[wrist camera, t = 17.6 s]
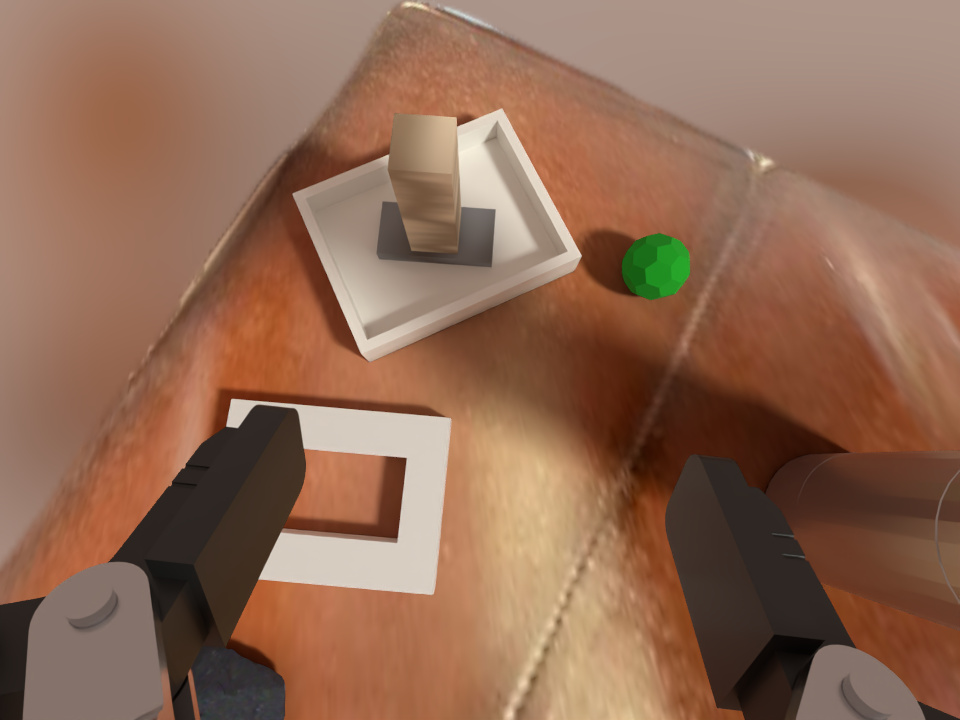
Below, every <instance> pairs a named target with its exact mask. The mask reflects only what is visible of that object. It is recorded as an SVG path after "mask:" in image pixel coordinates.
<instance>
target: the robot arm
mask: <svg viewBox="0 0 960 720" xmlns="http://www.w3.org/2000/svg"><path fill="white" fill-rule="evenodd" d="M305 472H306V460H305V453H304V446H303V440H302V433H301V426H300V419H299V414H298V411H297V410H296V409H295V408H287V407H279V406H270V405H261V404H258V405H255V406H254V407H253V408H252V409H251V410H250V412H249V413H248V415H247V416H246V417H245V419H244V420H243V422H242V423H241V424H240V426H239V427H238V428H234V427H225V428H223V429H222V430H220V431H219V432H218V433H216V434H215V435H213V436H212V437H210V438H209V439H207V440H206V441H205V442H203V443H202V444H201V445H200V446H199V448H198V449H197V450H196V452H195V453H194V454H193V455H192V457H191V458H190V459H189V461H188V462H187V463H186V467H185V469H183V468H182V470H181V471H180V472H179V473H178V475H177V476H176V477H175V479H174V480H173V481H172V485H171V486H168V488H167V489H166V490H165V491H164V493H163V494H162V495H161V497H160V498H159V499H158V500H157V502H156V503H155V504H154V506H153V507H152V508H151V509H150V511H149V512H148V513H147V515H146V516H145V517H144V518H143V520H142V521H141V522H140V524H139V525H138V526H137V527H136V529H135V530H134V531H133V533H132V534H131V535H130V536H129V538H128V539H127V540H126V542H125V543H124V544H123V545H122V547H121V548H120V549H119V551H118V552H117V553H116V554H115V555H114V557H113V558H112V559H111V560H110V561H109V562H108V563H104V564H99V565H96V566H93V567H90V568H88V569H85V570H83V571H81V572H79V573H77V574H75V575H73V576H71V577H70V578H68V579H67V580H65V581H64V582H62V583H61V584H60V585H59V586H57V587H56V588H55V589H54V590H53V591H52V592H51V593H50V594H49V595H47V596H46V597H42V598H37V599H31V600H26V601H20V602H15V603H9V604H3V605H0V720H200V715H199V709H198V704H197V698H196V692H195V686H194V681H193V675H192V671H191V667H192V665H193V663H194V661H195V659H196V657H197V655H198V653H199V651H200V649H201V647H202V645H205V646H214V647H222V648H225V647H226V645H227V643H228V641H229V639H230V637H231V635H232V633H233V631H234V629H235V627H236V625H237V623H238V620H239V618H240V616H241V614H242V612H243V610H244V608H245V606H246V604H247V602H248V600H249V598H250V595H251V593H252V591H253V589H254V587H255V585H256V583H257V581H258V579H259V577H260V575H261V573H262V571H263V568H264V566H265V564H266V562H267V560H268V558H269V556H270V554H271V552H272V550H273V548H274V546H275V544H276V541H277V539H278V537H279V535H280V533H281V531H282V529H283V527H284V525H285V523H286V521H287V519H288V517H289V514H290V512H291V510H292V508H293V506H294V504H295V502H296V500H297V498H298V496H299V494H300V491H301V489H302V486H303V483H304V478H305ZM665 526H666V533H667V537H668V541H669V544H670V548H671V551H672V554H673V558H674V561H675V565H676V568H677V572H678V575H679V579H680V582H681V586H682V589H683V592H684V596H685V599H686V603H687V606H688V610H689V613H690V617H691V620H692V623H693V627H694V630H695V634H696V637H697V641H698V644H699V648H700V651H701V655H702V658H703V661H704V665H705V668H706V672H707V675H708V679H709V682H710V686H711V689H712V693H713V696H714V699H715V703H716V706H717V708H722V709H731V710H739V711H742V712H743V715H744V718H745V720H960V719H958V718H956V717H954V716H951V715H949V714H947V713H944V712H942V711H939V710H937V709H935V708H932V707H930V706H928V705H925V704H923V703H921V702H919V701H917V700H916V699H915V697H914V696H913V694H912V693H911V692H910V690H909V689H908V688H907V687H906V685H905V684H904V683H903V682H902V681H901V680H900V679H899V678H898V677H897V676H896V675H895V674H894V673H893V672H892V671H891V670H890V669H888V668H887V667H886V666H885V665H884V664H882V663H881V662H879V661H878V660H876V659H875V658H873V657H872V656H870V655H868V654H866V653H865V652H862V651H860V650H858V649H857V648H856V647H855V645H854V644H853V642H852V640H851V638H850V637H849V635H848V633H847V631H846V629H845V627H844V626H843V624H842V622H841V620H840V618H839V616H838V614H837V613H836V611H835V609H834V607H833V605H832V603H831V602H830V600H829V598H828V596H827V594H826V592H825V591H824V589H823V587H822V585H821V583H823V584H826V585H829V586H832V587H835V588H838V589H841V590H844V591H847V592H849V593H852V594H855V595H857V596H860V597H863V598H866V599H869V600H872V601H875V602H878V603H880V604H883V605H886V606H889V607H892V608H895V609H898V610H901V611H904V612H906V613H909V614H912V615H915V616H918V617H921V618H924V619H927V620H930V621H932V622H935V623H938V624H941V625H944V626H947V627H950V628H953V629H956V630H958V631H960V450H952V451H912V452H872V453H833V454H809V455H805V456H800V457H797V458H795V459H793V460H791V461H789V462H787V463H786V464H785V465H784V466H783V467H781V468H780V469H779V470H778V471H777V473H776V474H775V475H774V477H773V478H772V479H771V481H770V483H769V486H768V488H767V490H766V494H764V493H763V492H762V491H761V490H760V489H759V488H756V487H749V486H748V484H747V482H746V480H745V478H744V476H743V474H742V472H741V470H740V468H739V466H738V465H737V463H736V462H735V461H734V460H733V459H731V458H723V457H714V456H705V455H696V454H693V455H691V456H690V457H689V458H688V459H687V461H686V463H685V466H684V468H683V470H682V472H681V475H680V477H679V479H678V482H677V484H676V486H675V488H674V491H673V493H672V495H671V498H670V500H669V502H668V505H667V509H666V516H665ZM820 582H821V583H820Z"/></svg>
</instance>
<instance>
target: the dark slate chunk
mask: <svg viewBox="0 0 960 720" xmlns="http://www.w3.org/2000/svg"><path fill="white" fill-rule="evenodd" d="M191 671H192V675H193V681H194V686H195V692H196V698H197V704H198V709H199V715H200V720H284V716H285V683H284V680H283V678H282V677H281V676H280V675H279V674H277V673H276V672H274V671H273V670H272V669H270V668H268V667H266V666H264V665H261V664H257V663H255V662H253V661H251V660H249V659H247V658H244V657H242V656H240V655H239V654H237V653H236V652H235V651H234V650H233V649H229V650H228V649H227V648H222V647H214V646H205V645H202V647H201V649H200V651H199V653H198V655H197V657H196V659H195V661H194V663H193V665H192V667H191Z"/></svg>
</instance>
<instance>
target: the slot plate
mask: <svg viewBox="0 0 960 720" xmlns="http://www.w3.org/2000/svg"><path fill="white" fill-rule="evenodd" d="M258 404H261V405H270V406H279V407H287V408H295V409H296V410H297V411H298V414H299V419H300V426H301V433H302V440H303V446H304V449H312V450H323V451H335V452H346V453H357V454H369V455H380V456H391V457H403V458H407V462H406V471H405V480H404V489H403V498H402V506H401V515H400V524H399V533H398V538H387V537H375V536H364V535H353V534H342V533H330V532H319V531H308V530H297V529H285V528H283V529H282V531H281V533H280V535H279V537H278V539H277V541H276V544H275V546H274V548H273V550H272V552H271V554H270V556H269V558H268V560H267V562H266V564H265V566H264V568H263V571H262V573H261V575H260V577H259V579H262V580H273V581H284V582H295V583H306V584H317V585H329V586H340V587H351V588H362V589H373V590H384V591H396V592H407V593H418V594H429V595H433V593H434V590H435V585H436V575H437V565H438V554H439V544H440V534H441V524H442V513H443V503H444V493H445V482H446V472H447V462H448V452H449V441H450V431H451V421H452V420H451V418H446V417H434V416H423V415H412V414H400V413H389V412H377V411H366V410H354V409H343V408H331V407H320V406H308V405H297V404H286V403H274V402H263V401H251V400H240V399H231V404H230V409H229V414H228V420H227V425H226V427H234V428H238V427H239V426H240V424H241V423H242V422H243V420H244V419H245V417H246V416H247V415H248V413H249V412H250V410H251V409H252V408H253V407H254V406H255V405H258Z"/></svg>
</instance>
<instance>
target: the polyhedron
mask: <svg viewBox="0 0 960 720" xmlns="http://www.w3.org/2000/svg"><path fill="white" fill-rule="evenodd" d="M622 275H623V279H624V282H625V284H626V285H627V286H628V288H629V289H630V291H631V292H633V293H635V294H637V295H639V296H642V297H644V298H647V299H649V300H653V299H658V298H662V297H666V296H670V295H673V294H676V292H677V291H678V290H679V289H680V287H681V286H682V285H683V284H684V282H685V281H686V279H687V278H688V276H689V275H690V258H689V252H688V250H687V249H686V247H685V246H684V245H683V243H682V242H681V241H679V240H677V239H675V238H673V237H670V236H667V235H663V234H660V233H658V234H654V235H649V236H646V237H643V238H641V239H639V240H636V241H635V242H634V243H633V245H632V246H631V247H630V248H629V249H628V251H627V252H626V254H625V256H624V258H623V260H622Z"/></svg>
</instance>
